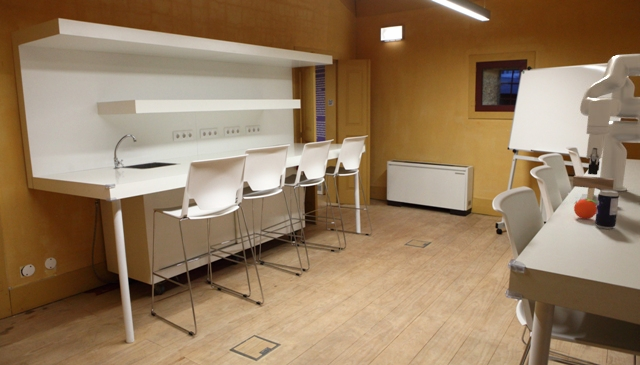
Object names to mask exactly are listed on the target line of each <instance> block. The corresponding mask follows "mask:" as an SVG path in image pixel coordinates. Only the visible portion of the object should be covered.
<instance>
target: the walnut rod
mask: <svg viewBox="0 0 640 365" xmlns="http://www.w3.org/2000/svg"><path fill="white" fill-rule="evenodd" d="M613 184H614V179H613V178H600V176H599V177H597V176H584V175H574V176H573V179H572V187H578V188H586V189H588V188H595V189H598V190H603V189H608V190H613Z"/></svg>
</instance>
